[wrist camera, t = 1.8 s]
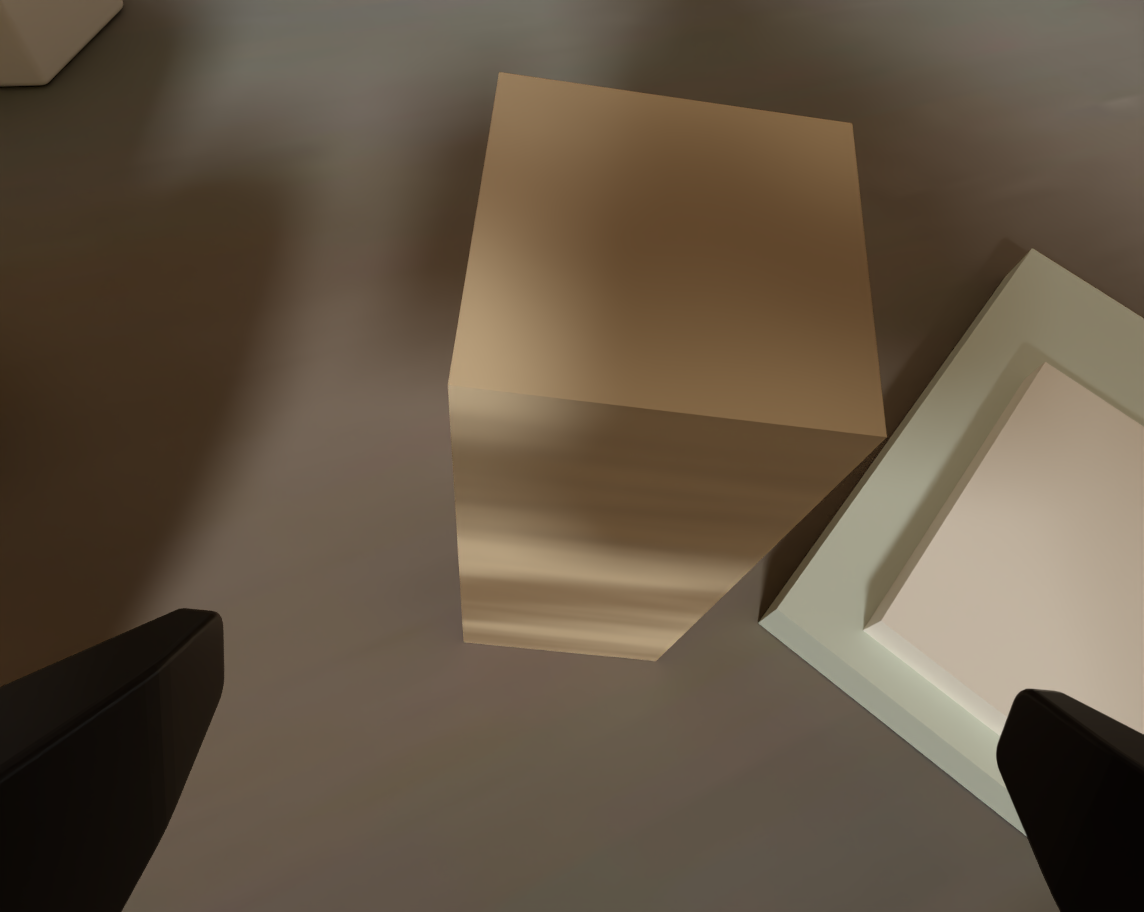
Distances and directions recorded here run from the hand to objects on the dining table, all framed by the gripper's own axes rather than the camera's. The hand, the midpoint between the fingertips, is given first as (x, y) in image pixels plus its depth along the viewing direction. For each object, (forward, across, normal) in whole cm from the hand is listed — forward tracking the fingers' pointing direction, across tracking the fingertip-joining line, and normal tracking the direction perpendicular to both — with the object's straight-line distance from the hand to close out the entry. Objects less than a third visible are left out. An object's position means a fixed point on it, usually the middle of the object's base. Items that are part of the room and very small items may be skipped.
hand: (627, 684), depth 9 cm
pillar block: (+12, 0, +5) cm, 13 cm away
